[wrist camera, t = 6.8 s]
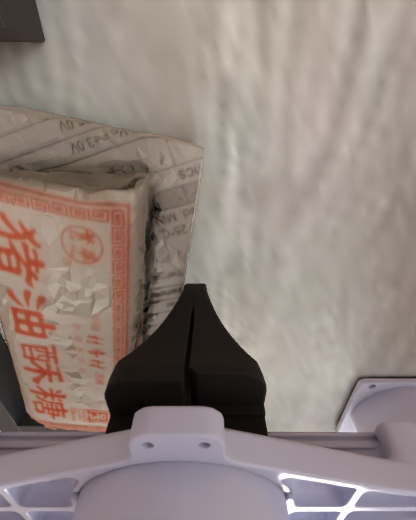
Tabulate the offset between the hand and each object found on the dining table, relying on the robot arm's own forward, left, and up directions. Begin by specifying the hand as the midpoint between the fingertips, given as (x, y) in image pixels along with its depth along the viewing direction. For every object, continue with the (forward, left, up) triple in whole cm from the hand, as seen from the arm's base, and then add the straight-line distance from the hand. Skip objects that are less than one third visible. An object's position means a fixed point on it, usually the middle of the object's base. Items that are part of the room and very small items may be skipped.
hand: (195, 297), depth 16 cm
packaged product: (+6, 0, -2) cm, 6 cm away
